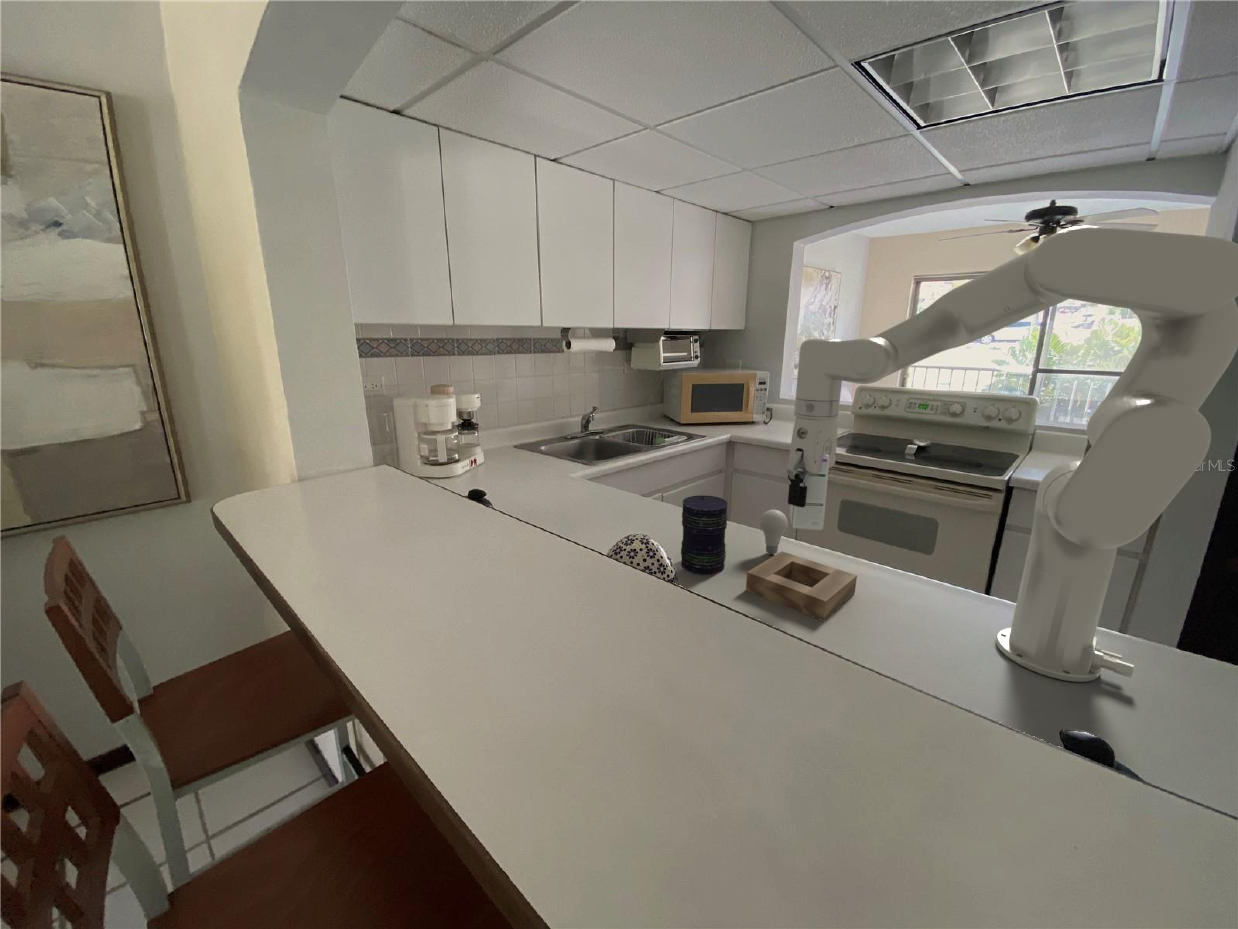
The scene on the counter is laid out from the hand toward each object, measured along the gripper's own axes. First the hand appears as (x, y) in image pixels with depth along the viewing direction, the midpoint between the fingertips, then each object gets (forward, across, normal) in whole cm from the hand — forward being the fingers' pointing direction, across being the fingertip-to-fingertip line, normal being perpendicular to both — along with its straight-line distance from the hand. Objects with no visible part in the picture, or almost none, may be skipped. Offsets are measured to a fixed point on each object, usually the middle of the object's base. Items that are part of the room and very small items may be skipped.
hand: (807, 499), depth 94 cm
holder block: (+19, 0, 0) cm, 19 cm away
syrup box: (+5, 0, 0) cm, 5 cm away
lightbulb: (+20, +12, +13) cm, 26 cm away
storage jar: (+20, -4, +21) cm, 29 cm away
